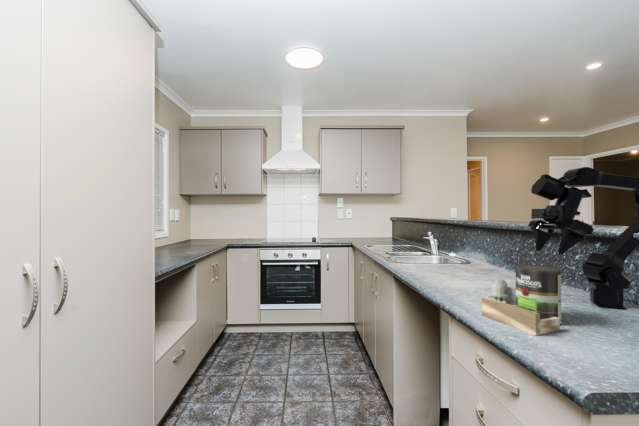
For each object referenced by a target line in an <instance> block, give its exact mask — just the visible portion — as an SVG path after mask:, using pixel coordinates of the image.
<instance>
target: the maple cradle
mask: <svg viewBox="0 0 639 426" xmlns="http://www.w3.org/2000/svg"><path fill="white" fill-rule="evenodd" d="M480 300H481V316H483V317H485V318H488V319H491V320H493V321H496V322H499V323H502V324H503V325H507V326H510V327H512V328H515V329H517V330H520V331H523V332H525V333H528V334H531V335H534V336H540V335H544V334H549V333H554V332H559V331H560V329H561V326H560V325H561V324H560V318H557V317H552V318H547V319H541V320H540V314H539V313H536V312H533V311H530V310H526V309H523V308H520V307H516V305H513V304H510V303H508V301H507V302H504V301H502V302H500V301H497V300H494V299H490V297H486V296H482V297H481V299H480Z"/></svg>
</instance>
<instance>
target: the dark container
mask: <svg viewBox="0 0 639 426" xmlns="http://www.w3.org/2000/svg"><path fill="white" fill-rule="evenodd" d="M514 268H515V306H516V307H520V308H523V309H526V310H530V311H533V312H536V313H539V314H540V320H541V319H547V318H552V317H557V318H560V325H561V324H562V323H563V321H562V272H563V270H562V268H559V267H557V266H552V265H546V264H545V265H544V264H536V263H535V264H533V263H521V264H520V263H519V264H515V266H514Z"/></svg>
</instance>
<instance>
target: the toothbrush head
mask: <svg viewBox="0 0 639 426" xmlns="http://www.w3.org/2000/svg"><path fill="white" fill-rule="evenodd" d="M506 289H508V282H507V281H506V280H505V278H499V277H498V278H496V279H495V280H493V284H492V285H491V292H488V295H489V298H490V299H494V300H497V301H500V302H502V301H504V302H507V303H508V301H507V300H508V298H509V294H507V293H506Z"/></svg>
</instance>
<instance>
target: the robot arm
mask: <svg viewBox="0 0 639 426" xmlns="http://www.w3.org/2000/svg"><path fill="white" fill-rule="evenodd" d="M583 187H586V188H584V189H580V188H583ZM587 187H599V188H600V187H601V188H607V189H608V188H609V189H616V190H626V191H631V192H632V193H633V201H634V202H635V204H636V205H637V206H638V207H637V209H636V214H635V215H636V218H635V219H634V220H633V221H632V222H631V223H630V224H629V226H628V227H626V228H625V229H624V231H623V232H622V233H621V234H620V235H619V236H618V237H616V239H615V240H614V241H613V243H611V245H610V246H609V247H608V248H607V249H606V250H605V251H604V252H601V253H597V252H592V253H590V254H589V256H588V257H587V259H585V260H583V261H582V262H583V263H584V264H583V265H582V267H581V268H582V273H583V274H584V275H585V277H586V280H587V283H591V287H590V289H589V294H590V295H589V297H590V299H589V301H590V303H592V304H594V305H595V306H597V307H600V308H608V309H619V310H627V307H626V306H624V289H625V290H628V289H629V287H630V285H631V281H630V280H628V279H627V278H626V277H625V276H624V275H623V272H624V270H625V261H626V260H627V259H628V258H629V257H630V256H631V254H632V253H633V252H635V251H636V249H637V248H638V247H639V241H638V240H637V239H635V238H634V237H633V234H634V233H638V232H639V177H638V176H630V175H629V176H628V175H622V174H612V173H606V172H602V171H601V170H600V169H597V168H593V167H588V166H583V167H579V168H572V169H568V170H567V171H565V172H564V174H563V176H561V177H560V178H555V177H554V176H551V175H549V174H546V173H545V174H541V175H540V178H538V179H537V180H536V181H535V182H534V183H533V185H532V186H531V193H532V194H533V195H536V196H538V197H540V198H544V199H546V200H548V201H555V202H554V205H552V204H550V205H546V206H545V207H544V208H531V215H530V217H531V219H532V220H530V221H529V223H528V226H527V227H528V228H530V230H531V231H532V232H533V234H534V240H535V241H534V242H535V245H534V246H535V251H536V252H540V251H542V249H543V248H544V247H545V245H546V244H547V243H548V242H549V240H550V239H551V238H552V236H553V233H554V232H555V231H560V232H561V235H562V236H561V240H560V243H559V246H558V251H557V254H558V255H561V256H562V255H564V254H565V253H566V252H568V250H569V249H571V248H572V247H574V246H575V245H576V244H578V243H579V242H580V241H582V240H583V239H587V238H588V236H589V237H591V236H593V233H594V227H593V225H592V224H589V223H587V222H584V221H581V220H579V219H576V218H575V217H576V216H580V214H581V211H579V207H580V206H581V205H580V204H581V202H582V200H583V199H587V198H592V194H591V193H590V192H589V191H588V188H587Z"/></svg>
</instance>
